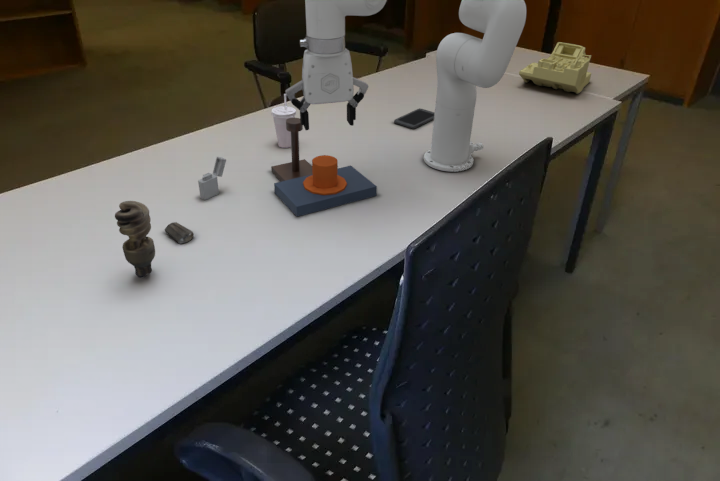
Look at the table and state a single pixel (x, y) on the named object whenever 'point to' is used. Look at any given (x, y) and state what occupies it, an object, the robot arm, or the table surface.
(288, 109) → the smoothie
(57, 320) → the table surface
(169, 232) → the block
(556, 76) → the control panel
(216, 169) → the lighter
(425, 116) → the cell phone
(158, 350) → the table surface
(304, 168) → the hat stand
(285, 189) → the low stand
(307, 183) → the hat
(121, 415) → the table surface
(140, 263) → the light bulb
